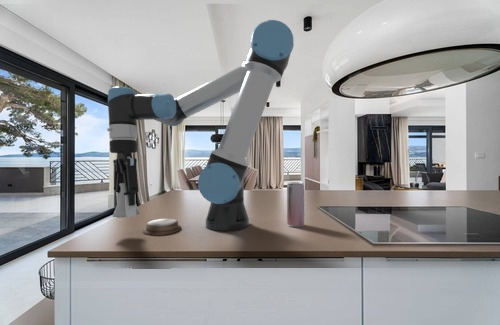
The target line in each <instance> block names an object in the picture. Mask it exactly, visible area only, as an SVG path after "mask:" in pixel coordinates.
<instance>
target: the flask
mask: <svg viewBox="0 0 500 325" xmlns="http://www.w3.org/2000/svg"><path fill="white" fill-rule="evenodd" d="M119 185H120V187H121V191H120V197H119V200H118V203H117V202H116V206H115V209H114V211H113V213H112V214H113V215H112V218H118V219H119V218H120V219H123V218H126V208H125V195H124V193H125V192H126V189H125V183H120V184H119ZM139 214H141V212H140V209H139V208H138V205H137V204H136V216H138V215H139Z"/></svg>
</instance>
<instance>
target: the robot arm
mask: <svg viewBox="0 0 500 325" xmlns="http://www.w3.org/2000/svg"><path fill="white" fill-rule="evenodd" d="M250 44H251V45H250V48H249V51H248V54H247V57H246V59H245V60H242V65H240V66H238V67H236V68H234V69H231V70H230V71H228V72H226V73H224V74H222V75H220V76H218V77H216V78H213V79H212V80H210V81H208V82H206V83H203V84H201V85H199V86H198V87H196V88H194V89H192V90H190V91H188V92H186V93H184V94H181V95H179V96H178V97H176V98H174V95H172V93H171V94H170V93H162V92H158V93H145V94H144V93H143V94H137V93H136V92H135V90H134V89H133V88H132V87H131V88H130V87H126V86H113V87H110V88H109V89H108V91H107V107H108V108H107V109H108V111H107V112H108V128H107V132H109V133H108V134H109V139H110V141H109V152H110V153H111V154H116V159H113V160H112V162H113V190H114V191H115V194H116V204H117V203H118V200H119V197H120V191H121V187H120V185H119V184H120V183H125V189H126V192H125V193H124V195H125V208H126V217H125V218H132V217H136V216H137V215H136V205H137V202H136V201H137V198H136V197H137V196H136V195H137V193H139V190H140V189H139V182H138V181H139V180H138V170H137V162H138V160H137V158H133V155H132V154H133V153H134V154H135V153H138V141H137V138H138V127H137V120H138V121H143V120H145V121H146V120H148V121H149V120H154V121H156V122H159V123H162V124H164V125H166V126H169V127H177V126H180V124H182V123H183V121H184V120H185V119H187V118H189V117H191V116H193V115H196V114H197V113H200V112H201V111H204V110H206V109H207V108H209V107H211V106H214V105H215V104H218V103H220V102H222V101H224V100H226V99H228V98H231V97H232V96H235V95H236V94H238V95H237V98H236V100H235V103H234V106H233V109H232V112H231V114H230V116H229V119H228V122H227V125H226V128H225V130H224V132H223V136H222V138H221V140H220V144H219V146H218V148H217V149H214V150H212V151H211V153H210V155H209V158H208V161H207V163H206V166H205V167H204V168H203V169H202V170H201V172H200V173H199V176H198V179H197V185H198V186H197V187H198V190H199V192H200V195H201V196H202V197H203V198H204V199H205V200H206V201H208V202H210V205H209V209H208V212H207V214H206V218H205V227H206V228H207V229H208V230H213V231H218V232H219V231H222V232H224V231H225V232H227V231H228V232H229V231H237V230H243V229H246V228H247V227H248V226H249V225H250V218H249V215H248V212H247V209H246V206H245V202H244V201H245V199H244V197H245V193H244V188H245V187H244V186H245V185H244V181H245V180H244V179H245V178H244V177H245V176H246V173H247V170H248V167H249V163H248V161H247V155H248V153H249V150H250V147H251V145H252V143H253V140H254V137H255V134H256V131H257V129H258V126H259V123H260V121H261V118H262V116H263V113H264V111H265V108H266V105H267V102H268V100H269V98H270V96H271V92H272V90H273V87H274V85H275V83H278V82H280V81H281V80H282V77H283V75H284V72H285V70H286V69H287V67H288V65H289V61H290V58H291V53H292V52H293V49H294V44H295V43H294V35H293V32H292V30H291V29H290V27H289V26H288V25H287V24H286V23H284V22H283V21H281V20H276V19H268V20H266V21H263V22H261V23H259V24H257V26H256V27H255V28H254V29H253V31H252V34H251V38H250Z"/></svg>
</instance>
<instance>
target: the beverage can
mask: <svg viewBox="0 0 500 325" xmlns="http://www.w3.org/2000/svg"><path fill="white" fill-rule="evenodd" d="M286 224H287V226H288V227H291V228H302V227H304V225H305V184H304V182H300V181H289V182H287V184H286Z"/></svg>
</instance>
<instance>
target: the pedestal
mask: <svg viewBox="0 0 500 325" xmlns="http://www.w3.org/2000/svg"><path fill="white" fill-rule="evenodd" d="M181 230H182V226H181V225H180V224H179V221H178V220H176V219H173V218H158V219H153V220H150V221H148V222H146V223H145V227H144V228H142V233H143V234H144V235H147V236H166V235H171V234H175V233H178V232H179V231H181Z"/></svg>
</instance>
